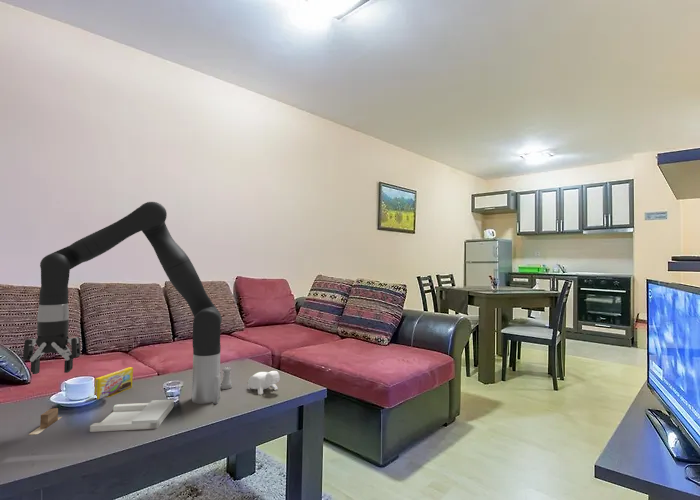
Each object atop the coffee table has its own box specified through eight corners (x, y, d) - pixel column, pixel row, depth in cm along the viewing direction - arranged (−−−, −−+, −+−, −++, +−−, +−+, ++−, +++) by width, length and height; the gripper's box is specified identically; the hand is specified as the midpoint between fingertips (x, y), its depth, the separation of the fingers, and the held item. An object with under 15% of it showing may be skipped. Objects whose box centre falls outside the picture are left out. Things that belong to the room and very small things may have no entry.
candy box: (98, 402, 135) (99, 378, 135) (93, 402, 135) (93, 378, 135) (132, 388, 151) (133, 366, 151) (128, 387, 151) (128, 366, 151)
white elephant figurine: (247, 398, 149) (270, 392, 141) (243, 376, 152) (265, 369, 143) (265, 393, 156) (288, 387, 147) (260, 372, 158) (283, 364, 149)
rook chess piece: (225, 390, 149) (226, 369, 150) (217, 388, 152) (218, 367, 152) (234, 387, 153) (235, 367, 154) (227, 385, 156) (227, 365, 156)
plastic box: (173, 409, 129) (173, 399, 129) (157, 431, 112) (157, 419, 112) (115, 412, 126) (116, 401, 126) (89, 435, 109) (90, 423, 109)
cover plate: (101, 417, 123) (102, 402, 123) (82, 434, 111) (83, 417, 111) (53, 419, 121) (54, 404, 121) (28, 437, 109) (29, 420, 109)
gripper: (85, 316, 121) (84, 368, 120) (34, 317, 119) (33, 370, 118) (72, 320, 114) (71, 375, 113) (18, 321, 111) (16, 377, 111)
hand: (51, 372), depth 116 cm, fingers open, 8 cm apart
